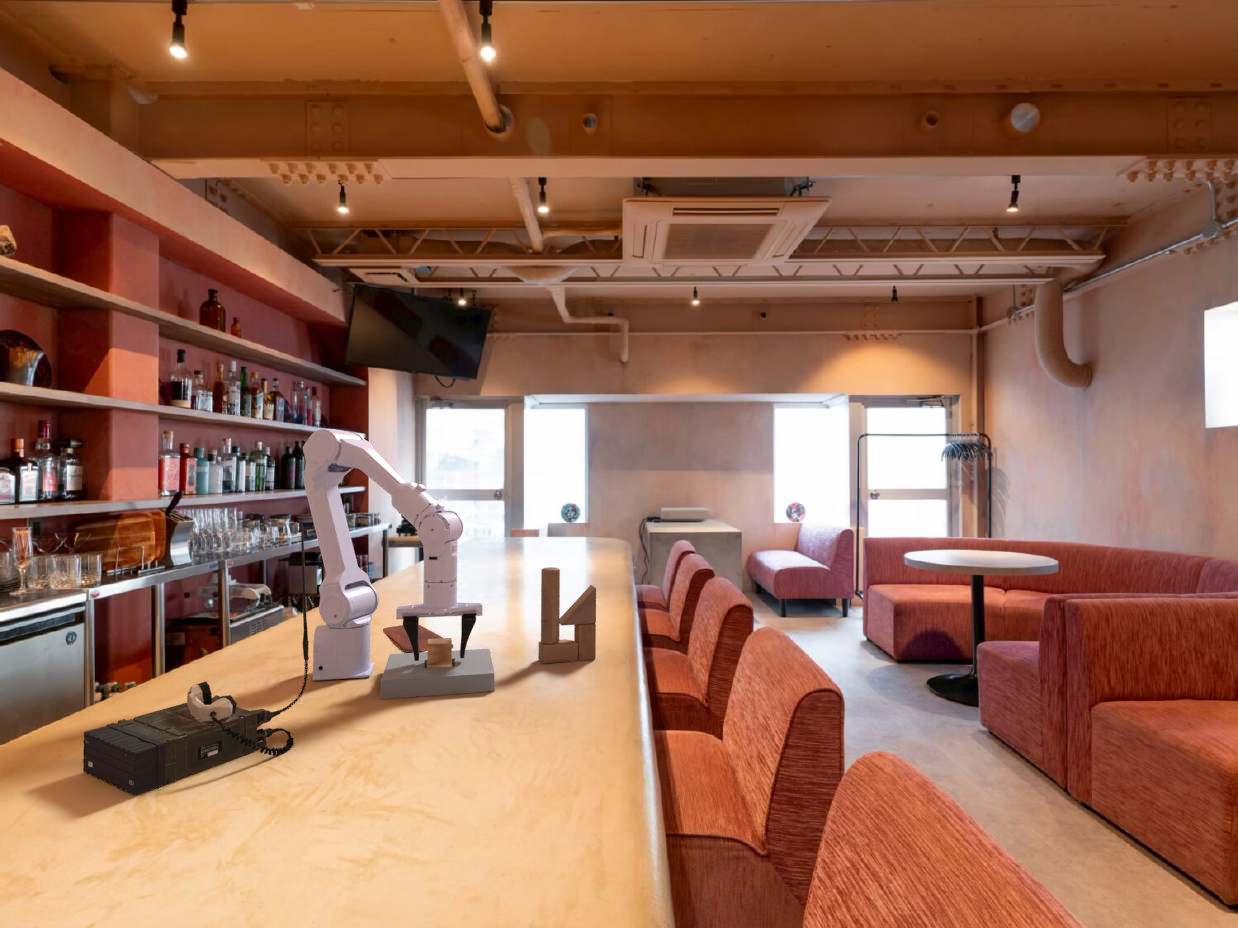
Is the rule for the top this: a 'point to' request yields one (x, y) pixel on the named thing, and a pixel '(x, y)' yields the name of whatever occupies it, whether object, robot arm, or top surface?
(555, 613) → the wooden block
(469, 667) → the slate board
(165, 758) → the radio
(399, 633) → the wooden tablet
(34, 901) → the top surface
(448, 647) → the oak peg
